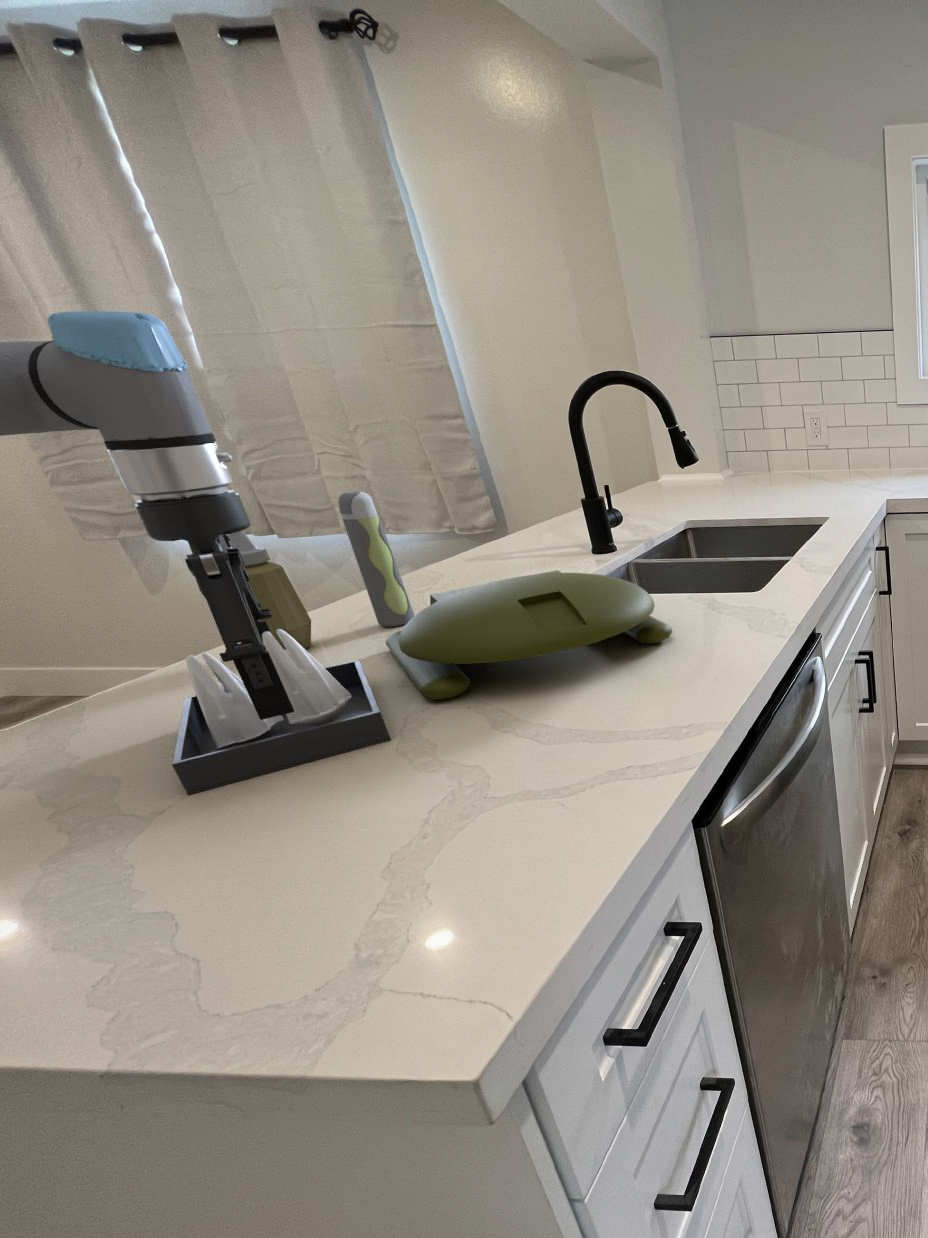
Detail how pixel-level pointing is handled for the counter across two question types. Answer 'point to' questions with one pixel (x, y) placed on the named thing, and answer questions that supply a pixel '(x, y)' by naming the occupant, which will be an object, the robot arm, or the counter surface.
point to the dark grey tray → (277, 738)
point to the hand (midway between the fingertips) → (275, 695)
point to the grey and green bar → (375, 559)
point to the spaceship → (518, 624)
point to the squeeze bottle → (273, 592)
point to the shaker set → (234, 710)
